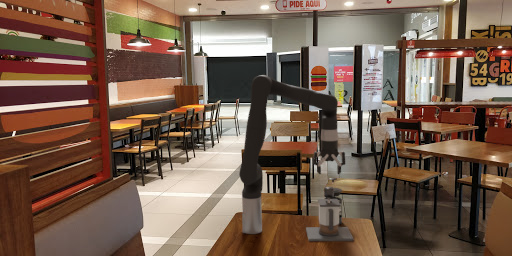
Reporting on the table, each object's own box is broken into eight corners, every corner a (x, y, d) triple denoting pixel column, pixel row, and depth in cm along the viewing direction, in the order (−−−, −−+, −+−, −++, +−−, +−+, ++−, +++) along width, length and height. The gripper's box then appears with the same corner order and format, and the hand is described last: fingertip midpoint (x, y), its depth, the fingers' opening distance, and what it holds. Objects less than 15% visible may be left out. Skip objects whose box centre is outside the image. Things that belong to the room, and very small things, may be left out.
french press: (343, 219, 209) (343, 176, 206) (344, 225, 200) (344, 180, 197) (320, 218, 211) (320, 175, 208) (320, 225, 202) (320, 180, 199)
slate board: (308, 241, 182) (308, 238, 182) (306, 229, 196) (306, 227, 196) (353, 240, 182) (353, 238, 181) (347, 229, 195) (347, 227, 195)
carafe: (320, 239, 181) (320, 207, 180) (317, 228, 194) (317, 199, 192) (341, 238, 181) (342, 207, 179) (337, 228, 193) (337, 198, 191)
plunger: (324, 221, 186) (324, 189, 184) (323, 217, 190) (323, 186, 188) (334, 220, 186) (334, 189, 184) (332, 217, 190) (332, 186, 188)
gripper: (314, 140, 180) (314, 176, 182) (346, 140, 179) (346, 175, 181) (312, 137, 187) (312, 172, 189) (343, 137, 187) (343, 171, 189)
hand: (329, 173), depth 185 cm, fingers open, 8 cm apart
